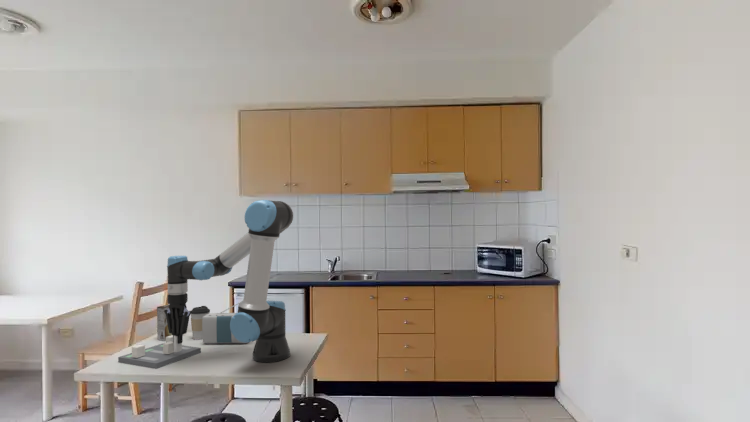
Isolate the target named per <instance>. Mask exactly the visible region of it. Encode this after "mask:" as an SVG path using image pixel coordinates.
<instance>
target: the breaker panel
mask: <svg viewBox="0 0 750 422" xmlns="http://www.w3.org/2000/svg"><path fill="white" fill-rule="evenodd" d="M164 343H165V342H163V343H160V344H157V345H154V346H150V347H147V348H146V347H145V355H144V356H141V357H138V358H135V357H132V352H131V353H127V354H124V355H121V356H118V357H117V359H118V363H122V364H126V365H133V366H138V367H145V368H151V369H154V370H155V369H159V368H162V367H165V366H168V365H170V364H173V363H176V362H179V361H182V360H185V359H187V358H190V357H192V356H196V355H198V354H201V352H202V350H201V349H202V348H201V347H198V346H190V345H183V344H182V350H181V351H178V352H174V353H171V354H163V344H164Z"/></svg>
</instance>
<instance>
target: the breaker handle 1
mask: <svg viewBox="0 0 750 422" xmlns="http://www.w3.org/2000/svg"><path fill="white" fill-rule="evenodd" d="M145 349H146V345H144V344H137V345H134V346H131V353H132V357H135V358H138V357H141V356H144V355H145Z"/></svg>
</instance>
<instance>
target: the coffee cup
mask: <svg viewBox="0 0 750 422" xmlns="http://www.w3.org/2000/svg"><path fill="white" fill-rule="evenodd" d="M190 311H191V314H190V323H191V325H190V326H191V331H192V334H191V335H192V339H193V340H198V341H199V340H201V341H202V340H203V338H202V318H203V316H205V315H207V314H209V313H211V309H210V308H208V306H207V305H201V306H196V307H192V309H191V310H190Z"/></svg>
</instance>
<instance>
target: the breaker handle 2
mask: <svg viewBox="0 0 750 422" xmlns="http://www.w3.org/2000/svg"><path fill="white" fill-rule="evenodd" d="M170 341H171V342H173V335H171V336H168V337H166V341H165V343H167V342H170Z"/></svg>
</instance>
